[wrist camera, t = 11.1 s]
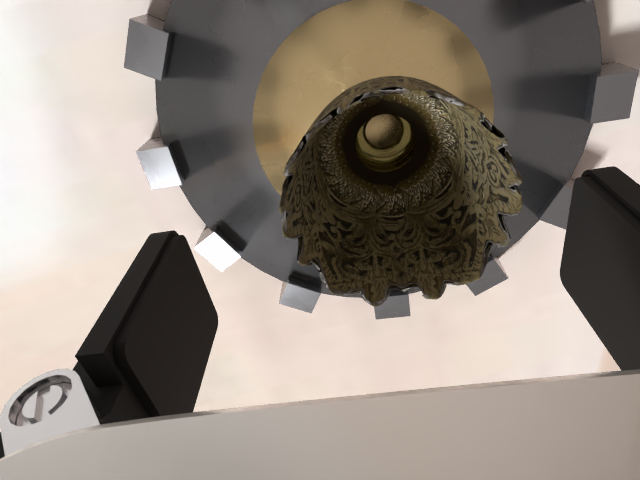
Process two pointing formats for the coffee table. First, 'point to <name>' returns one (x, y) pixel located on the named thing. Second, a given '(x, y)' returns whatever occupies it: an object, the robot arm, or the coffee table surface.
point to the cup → (399, 192)
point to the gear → (381, 131)
